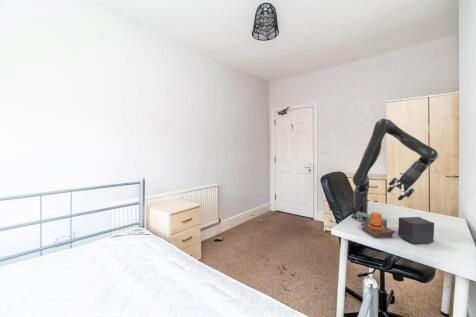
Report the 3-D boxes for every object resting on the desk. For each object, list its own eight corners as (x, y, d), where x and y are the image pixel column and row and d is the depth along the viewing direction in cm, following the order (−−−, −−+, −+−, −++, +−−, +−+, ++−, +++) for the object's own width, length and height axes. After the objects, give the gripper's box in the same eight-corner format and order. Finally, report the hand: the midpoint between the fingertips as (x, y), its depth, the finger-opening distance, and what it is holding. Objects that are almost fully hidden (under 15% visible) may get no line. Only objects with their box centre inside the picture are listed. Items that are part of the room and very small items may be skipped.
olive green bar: (384, 230, 138) (350, 218, 161) (387, 229, 139) (353, 217, 162) (384, 220, 138) (350, 209, 161) (387, 219, 139) (353, 209, 162)
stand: (360, 229, 141) (360, 223, 141) (378, 228, 141) (378, 222, 141) (374, 238, 127) (374, 232, 127) (394, 237, 127) (394, 231, 127)
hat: (364, 224, 139) (364, 211, 139) (378, 223, 139) (378, 211, 139) (373, 229, 130) (373, 216, 130) (388, 229, 130) (388, 216, 130)
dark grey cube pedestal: (397, 236, 129) (398, 217, 128) (417, 236, 129) (418, 216, 128) (412, 244, 118) (412, 223, 118) (433, 244, 118) (434, 223, 118)
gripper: (424, 184, 131) (405, 204, 137) (404, 172, 144) (388, 191, 149) (417, 180, 129) (398, 201, 134) (397, 168, 141) (381, 188, 147)
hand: (393, 195), depth 142 cm, fingers open, 8 cm apart
